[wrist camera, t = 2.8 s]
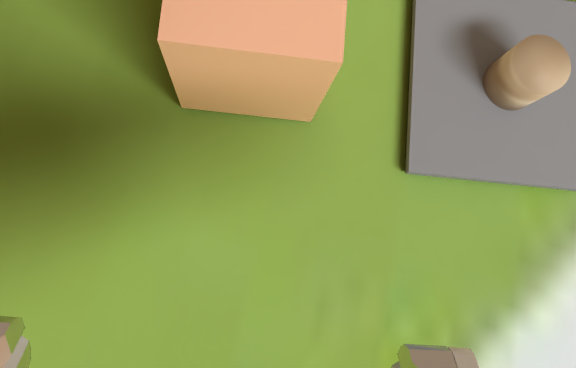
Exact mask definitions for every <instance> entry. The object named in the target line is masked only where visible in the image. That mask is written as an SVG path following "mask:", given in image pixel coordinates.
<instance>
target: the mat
mask: <svg viewBox="0 0 576 368" xmlns="http://www.w3.org/2000/svg"><path fill="white" fill-rule="evenodd" d="M539 34H540V35H546V36H549V37H552V38H554V39H555V40H557V41H558V42H559V43H561V45H562V46H563V47H564V48H565V49H566V51H567V53H568V55H569V58H570V62H571V72H570V76H569V79H568V80H567V82H566V83H565V85H563V86H562V87H561V88H560V89H558V90H556V91H554V92H552V93H550V94H548V95H547V96H545V97H543V98H541V99H539V100H537V101H535V102H533V103H531V104H529V105H527V106H526V107H524V108H522V109H519V110H514V111H510V110H504V109H502V108H499V107H498V106H496V105H495V104H494V103H492V102H491V101H490V99H489V98H488V96H487V95H486V93H485V90H484V85H483V78H484V74H485V72H486V70H487V68H488V67H489V66H490V65H491V64H492V63H493V62H494V61H496V60H497V59H498V58H500V57H501V56H502V55H504V54H505V53H506V52H508V51H509V50H510V49H511V48H513V47H514V46H515V45H517V44H518V43H519V42H521V41H522V40H523V39H525V38H526V37H529V36H532V35H539ZM405 174H414V175H424V176H434V177H444V178H454V179H463V180H473V181H483V182H493V183H503V184H512V185H522V186H532V187H542V188H552V189H561V190H571V191H576V2H572V1H565V0H413V13H412V36H411V58H410V81H409V103H408V126H407V148H406V171H405Z"/></svg>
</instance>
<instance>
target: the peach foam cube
mask: <svg viewBox="0 0 576 368" xmlns="http://www.w3.org/2000/svg"><path fill="white" fill-rule="evenodd" d="M346 10H347V0H162V8H161V16H160V23H159V31H158V38H157V41H158V44H159V46H160V49H161V52H162V55H163V57H164V60H165V63H166V66H167V68H168V71H169V74H170V77H171V80H172V82H173V85H174V88H175V91H176V93H177V96H178V99H179V102H180V104H181V107H182V108H189V109H198V110H207V111H216V112H225V113H234V114H244V115H253V116H262V117H271V118H280V119H289V120H298V121H307V122H311V120H312V118H313V117H314V115H315V113H316V111H317V109H318V107H319V106H320V104H321V102H322V100H323V98H324V96H325V95H326V93H327V91H328V89H329V87H330V85H331V84H332V82H333V80H334V78H335V76H336V74H337V73H338V71H339V69H340V67H341V65H342V63H343V54H344V39H345V24H346Z"/></svg>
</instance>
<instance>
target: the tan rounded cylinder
mask: <svg viewBox="0 0 576 368" xmlns="http://www.w3.org/2000/svg"><path fill="white" fill-rule="evenodd" d="M570 72H571V62H570V58H569V55H568V53H567V51H566V49H565V48H564V47H563V46H562V45H561V43H559V42H558V41H557V40H555V39H554V38H552V37H549V36H546V35H540V34H539V35H532V36H529V37H526V38H525V39H523V40H522V41H521V42H519V43H518V44H517V45H515V46H514V47H513V48H511V49H510V50H509V51H508V52H506V53H505V54H504V55H502V56H501V57H500V58H498V59H497V60H496V61H494V62H493V63H492V64H491V65H490V66H489V67H488V68H487V70H486V72H485V74H484V78H483V85H484V90H485V93H486V95H487V96H488V98H489V99H490V101H491V102H492V103H494V104H495V105H496V106H498V107H499V108H502V109H504V110H510V111H514V110H519V109H522V108H524V107H526V106H527V105H529V104H531V103H533V102H535V101H537V100H539V99H541V98H543V97H545V96H547V95H548V94H550V93H552V92H554V91H556V90H558V89H560V88H561V87H562V86H563V85H565V83H566V82H567V80H568V79H569V76H570Z"/></svg>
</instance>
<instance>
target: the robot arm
mask: <svg viewBox="0 0 576 368" xmlns="http://www.w3.org/2000/svg"><path fill="white" fill-rule="evenodd" d="M24 329H25V326H24V323H23V320H22V318H20V317H8V316H0V368H29V365H30V360H31V347H30V343H29V341H28V340H27V339H26V338H24V337H23V336H22V333H23V331H24ZM397 354H398V358H399V361H398V362H397V363H395V364H393V365H392V367H391V368H479V365H478V363H477V360H476V357H475V355H474V353H473V352H472V350H471V349H468V348H455V347H446V346H433V345H415V344H404V345H402V346H401V347H400V349H399V351H398V353H397Z"/></svg>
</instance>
